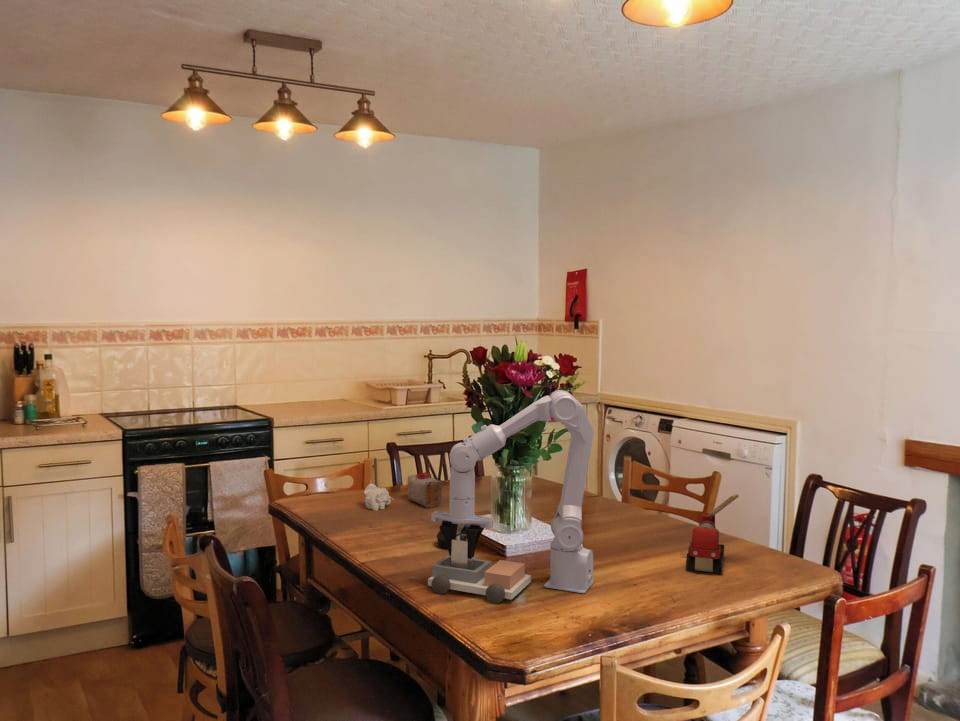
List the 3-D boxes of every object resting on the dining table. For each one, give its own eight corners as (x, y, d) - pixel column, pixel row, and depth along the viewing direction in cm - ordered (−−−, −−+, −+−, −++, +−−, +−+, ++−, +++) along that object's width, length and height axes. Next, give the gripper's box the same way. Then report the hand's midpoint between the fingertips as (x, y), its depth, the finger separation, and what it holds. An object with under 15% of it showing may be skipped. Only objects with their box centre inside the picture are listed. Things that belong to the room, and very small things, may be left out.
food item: (403, 499, 261) (403, 469, 260) (425, 496, 265) (425, 467, 264) (424, 509, 250) (424, 477, 249) (446, 506, 254) (446, 474, 253)
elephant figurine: (398, 508, 251) (398, 485, 250) (371, 513, 245) (371, 489, 244) (384, 503, 257) (384, 480, 256) (358, 508, 250) (358, 485, 250)
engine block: (474, 563, 186) (475, 534, 185) (467, 568, 182) (467, 538, 182) (458, 561, 187) (459, 532, 187) (451, 565, 184) (451, 535, 183)
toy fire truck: (684, 573, 194) (686, 500, 192) (690, 554, 208) (692, 486, 207) (734, 579, 190) (737, 504, 189) (736, 559, 205) (739, 490, 203)
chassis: (532, 584, 185) (533, 560, 185) (509, 606, 172) (509, 580, 172) (453, 571, 193) (453, 549, 193) (425, 591, 180) (425, 567, 180)
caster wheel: (443, 560, 209) (435, 543, 219) (487, 548, 212) (476, 531, 222) (439, 536, 207) (430, 520, 217) (482, 524, 210) (472, 508, 220)
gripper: (498, 496, 184) (498, 555, 185) (441, 489, 189) (440, 546, 190) (486, 503, 177) (485, 564, 178) (427, 496, 183) (426, 555, 184)
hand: (461, 556), depth 184 cm, fingers closed on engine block, 4 cm apart
